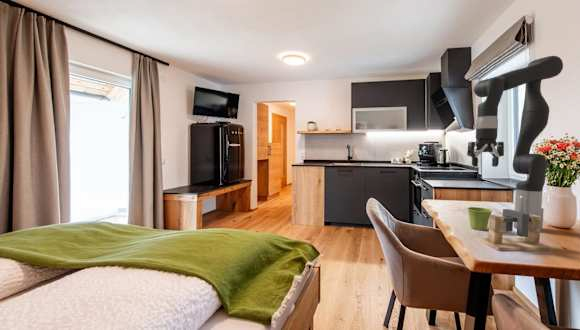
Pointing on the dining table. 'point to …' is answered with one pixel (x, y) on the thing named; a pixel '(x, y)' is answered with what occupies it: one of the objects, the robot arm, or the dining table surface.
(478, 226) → the plant pot
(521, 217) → the rubber u
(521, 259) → the dining table surface
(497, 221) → the bar rack
